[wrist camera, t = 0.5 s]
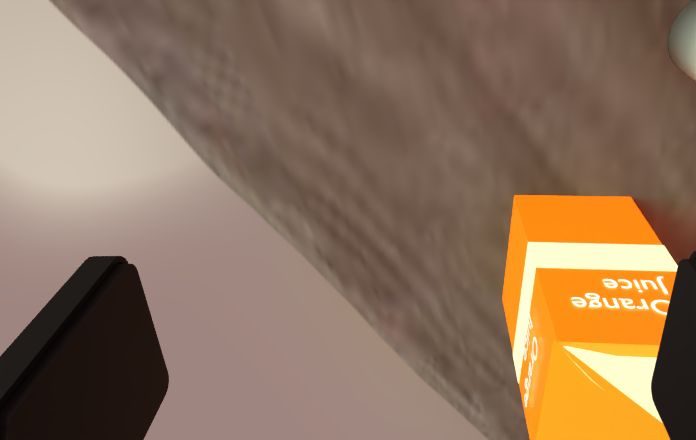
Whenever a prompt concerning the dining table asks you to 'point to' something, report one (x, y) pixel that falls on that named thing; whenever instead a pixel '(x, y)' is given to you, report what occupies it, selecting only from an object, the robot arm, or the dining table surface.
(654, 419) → the orange juice
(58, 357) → the robot arm
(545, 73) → the dining table surface
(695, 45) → the egg
